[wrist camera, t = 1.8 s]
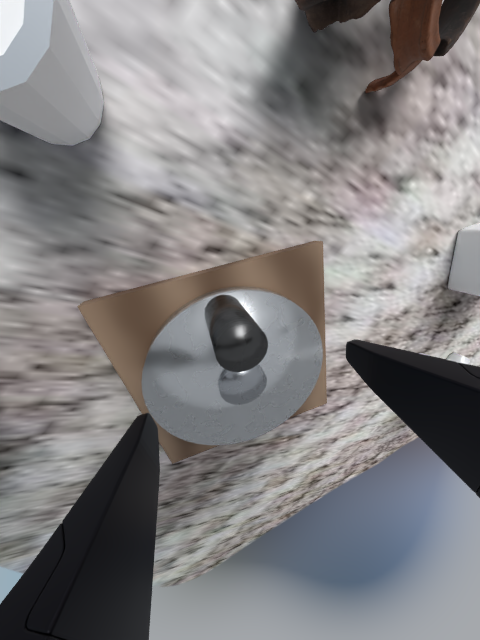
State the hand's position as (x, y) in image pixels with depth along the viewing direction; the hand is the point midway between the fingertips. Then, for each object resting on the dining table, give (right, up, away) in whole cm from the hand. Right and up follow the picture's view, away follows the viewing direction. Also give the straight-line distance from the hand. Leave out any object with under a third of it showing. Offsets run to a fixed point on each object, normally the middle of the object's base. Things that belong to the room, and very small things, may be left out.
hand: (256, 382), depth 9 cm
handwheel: (-1, -2, +12) cm, 12 cm away
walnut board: (-1, -2, +13) cm, 13 cm away
